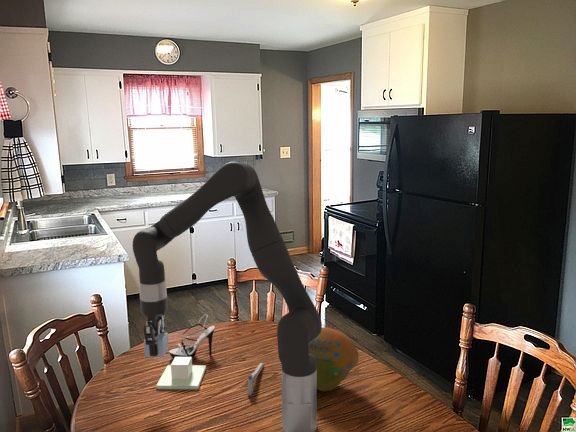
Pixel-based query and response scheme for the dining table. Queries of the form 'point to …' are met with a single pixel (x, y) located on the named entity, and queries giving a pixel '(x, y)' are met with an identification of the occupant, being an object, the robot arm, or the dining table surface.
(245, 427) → the dining table surface
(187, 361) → the white cube
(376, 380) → the dining table surface
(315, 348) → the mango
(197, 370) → the base plate
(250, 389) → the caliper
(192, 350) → the sandal
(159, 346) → the brick top
